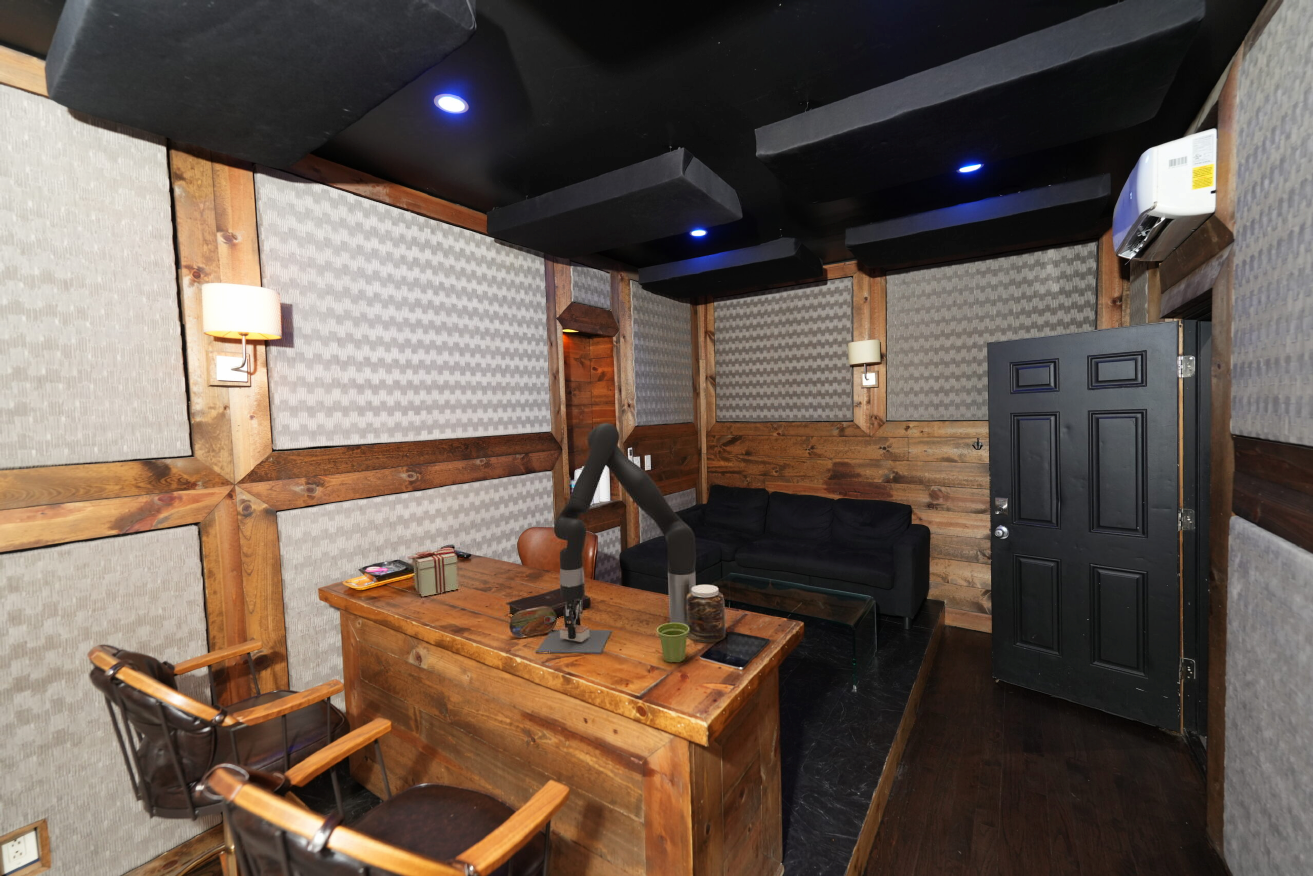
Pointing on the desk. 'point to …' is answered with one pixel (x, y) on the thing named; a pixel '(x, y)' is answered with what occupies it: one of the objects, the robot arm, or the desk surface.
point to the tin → (533, 622)
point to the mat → (575, 643)
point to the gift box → (435, 571)
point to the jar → (705, 614)
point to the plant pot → (673, 641)
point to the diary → (545, 602)
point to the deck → (581, 633)
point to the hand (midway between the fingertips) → (574, 634)
